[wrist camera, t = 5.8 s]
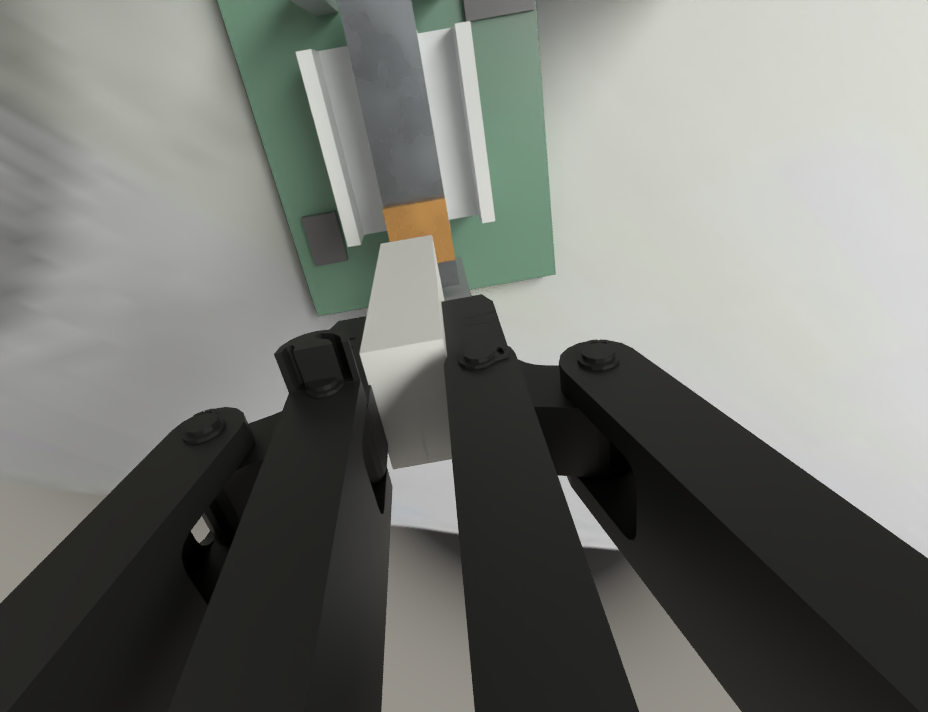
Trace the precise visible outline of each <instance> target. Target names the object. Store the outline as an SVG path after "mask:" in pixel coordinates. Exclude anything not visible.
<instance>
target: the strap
mask: <svg viewBox="0 0 928 712" xmlns="http://www.w3.org/2000/svg"><path fill="white" fill-rule="evenodd" d="M337 1H338V6H339V10H340V15H341V19H342V24H343V28H344V33H345V37H346V42H347V46H348V51H349V55H350V60H351V64H352V69H353V73H354V78H355V82H356V87H357V91H358V96H359V100H360V105H361V109H362V114H363V118H364V123H365V127H366V132H367V136H368V141H369V145H370V150H371V154H372V159H373V163H374V168H375V172H376V177H377V181H378V186H379V190H380V195H381V199H382V204H383V209H382V210H383V214H384V219H385V223H386V228H387V232H388V237H389V241H390V242H394V241H400V240H405V239H411V238H417V237H422V236H428V235H432V237H433V242H434V248H435V253H436V258H437V264H438V269H439V275H440V280H441V285H442V288H443V287H449V286H454V285H459V279H458V273H457V267H456V261H455V254H454V248H453V242H452V236H451V230H450V224H449V218H448V213H447V207H446V201H445V196H444V190H443V184H442V178H441V172H440V166H439V160H438V155H437V149H436V143H435V137H434V131H433V125H432V119H431V113H430V107H429V101H428V96H427V90H426V84H425V78H424V72H423V66H422V60H421V54H420V48H419V42H418V36H417V31H416V25H415V19H414V13H413V7H412V1H411V0H337Z"/></svg>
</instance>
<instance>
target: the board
mask: <svg viewBox="0 0 928 712" xmlns="http://www.w3.org/2000/svg"><path fill="white" fill-rule="evenodd" d="M217 1H218V4H219V7H220V10H221V14H222V17H223V20H224V23H225V26H226V29H227V32H228V35H229V39H230V42H231V45H232V48H233V51H234V54H235V57H236V61H237V64H238V67H239V70H240V73H241V76H242V79H243V83H244V86H245V89H246V92H247V95H248V98H249V101H250V105H251V108H252V111H253V114H254V117H255V120H256V123H257V127H258V130H259V133H260V136H261V139H262V142H263V145H264V149H265V152H266V155H267V158H268V161H269V164H270V167H271V171H272V174H273V177H274V180H275V183H276V186H277V189H278V193H279V196H280V199H281V202H282V205H283V208H284V211H285V215H286V218H287V221H288V224H289V227H290V230H291V233H292V237H293V240H294V243H295V246H296V249H297V252H298V255H299V259H300V262H301V265H302V268H303V271H304V274H305V277H306V281H307V284H308V287H309V290H310V293H311V296H312V299H313V303H314V306H315V309H316V312H317V315H318V316H322V315H328V314H333V313H339V312H345V311H350V310H356V309H362V308H367V307H369V302H370V296H371V291H372V286H373V281H374V276H375V271H376V265H377V260H378V255H379V250H380V245H381V244H382V243H388V242H390V241H389V237H388V232H387V228H386V223H385V219H384V214H383V210H382V209H383V204H382V199H381V195H380V190H379V186H378V181H377V177H376V172H375V168H374V163H373V159H372V154H371V150H370V145H369V141H368V136H367V132H366V127H365V123H364V118H363V114H362V109H361V105H360V100H359V96H358V91H357V87H356V82H355V78H354V73H353V69H352V64H351V60H350V55H349V51H348V46H347V42H346V37H345V33H344V28H343V24H342V19H341V15H340V10H339V6H338V1H337V0H217ZM411 1H412V7H413V13H414V19H415V25H416V31H417V36H418V42H419V48H420V54H421V60H422V66H423V72H424V78H425V84H426V90H427V96H428V101H429V107H430V113H431V119H432V125H433V131H434V137H435V143H436V149H437V155H438V160H439V166H440V172H441V178H442V184H443V190H444V196H445V201H446V207H447V213H448V218H449V224H450V230H451V236H452V242H453V248H454V254H455V261H456V267H457V273H458V279H459V285H454V286H449V287H443V288H442V291H443V296H444V301H447V300H453V299H458V298H464V297H470V296H472V295H471V293H470V289H475V288H481V287H487V286H492V285H498V284H504V283H509V282H515V281H521V280H526V279H532V278H538V277H543V276H549V275H555V274H556V272H555V258H554V244H553V231H552V217H551V203H550V190H549V176H548V162H547V149H546V135H545V121H544V108H543V94H542V80H541V66H540V53H539V39H538V25H537V12H536V0H411Z"/></svg>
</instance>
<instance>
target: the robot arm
mask: <svg viewBox="0 0 928 712" xmlns="http://www.w3.org/2000/svg"><path fill="white" fill-rule="evenodd" d="M274 355H275V358H276V360H277V363H278V366H279V368H280V371H281V373H282V376H283V379H284V381H285V384H286V386H287V389H288V392H289V395H288V397H287V400H286V403H285V405H284V408H283V410H282V411H281V412H279V413H276V414H274V415H272V416H269V417H266V418H263V419H260V420H258V421H255V422H252V423H249V424H248V422H247V420H246V418H245V416H244V413H243V412H241V411H240V410H238V409H237V408H229V407H223V408H217V409H209V410H205V412H203V411H202V412H200V413H197V414H195V415H194V416H193V417H191V418H189V419H188V420H186V421H184V422H182V423H181V424H180V425H178V426H177V427H176V428H175V429H173V430H172V431H171V432H170V433H169V434H168V435H167V436H166V437H165V438H164V439H163V440H162V441H161V442H160V443H159V444H158V445H157V446H156V447H155V448H154V449H153V450H152V451H151V452H150V453H149V454H148V455H147V456H146V457H145V458H144V459H143V460H142V461H141V462H140V463H139V464H138V465H137V466H136V467H135V468H134V469H133V470H132V471H131V472H130V473H129V474H128V475H127V476H126V477H125V478H124V479H123V480H122V481H121V482H120V483H119V484H118V485H117V487H116V488H115V489H114V490H113V491H112V492H111V493H110V494H109V495H108V496H107V497H106V498H105V499H104V500H103V501H102V502H101V503H100V504H99V505H98V506H97V507H96V508H95V509H94V510H93V511H92V512H91V513H90V514H89V515H88V516H87V517H86V518H85V519H84V520H83V521H82V522H81V523H80V524H79V525H78V526H77V527H76V528H75V529H74V530H73V531H72V532H71V533H70V534H69V535H68V536H67V537H66V538H65V539H64V540H63V541H62V542H61V543H60V544H59V545H58V546H57V547H56V548H55V549H54V550H53V551H52V552H51V553H50V554H49V555H48V556H47V557H46V558H45V559H44V560H43V561H42V562H41V563H40V564H39V565H38V566H37V567H36V568H35V569H34V570H33V571H32V572H31V573H30V574H29V575H28V576H27V577H26V578H25V579H24V580H23V581H22V582H21V583H20V584H19V585H18V586H17V587H16V588H15V589H14V590H13V591H12V592H11V593H10V594H9V595H8V597H6V598H5V599H4V600H3V602H2V603H0V712H381V705H382V685H383V665H384V664H383V663H384V644H385V643H384V642H385V625H386V604H387V585H388V565H389V545H390V525H391V505H392V484H391V479H390V476H389V473H388V469H387V455H388V453H389V457H390V460H391V464H392V467H393V469H397V468H403V467H409V466H414V465H420V464H426V463H432V462H437V461H443V460H449V459H452V463H453V475H454V486H455V497H456V508H457V519H458V530H459V541H460V551H461V562H462V574H463V585H464V596H465V606H466V618H467V629H468V640H469V651H470V661H471V672H472V684H473V695H474V706H475V712H639V710H638V708H637V705H636V702H635V699H634V696H633V693H632V690H631V687H630V684H629V681H628V678H627V676H626V673H625V670H624V667H623V664H622V661H621V658H620V655H619V652H618V649H617V647H616V644H615V641H614V638H613V635H612V632H611V629H610V626H609V623H608V620H607V617H606V615H605V612H604V609H603V606H602V603H601V600H600V598H599V595H598V592H597V589H596V586H595V583H594V580H593V577H592V574H591V571H590V568H589V566H588V562H587V560H586V557H585V554H584V551H583V548H582V545H581V542H580V539H579V536H578V533H577V531H576V528H575V525H574V522H573V519H572V516H571V513H570V510H569V507H568V505H567V502H566V499H565V496H564V493H563V490H562V487H561V484H560V481H559V478H558V476H557V475H562V476H567V478H568V480H569V482H570V485H571V487H572V488H573V489H574V491H575V492H576V493H577V495H578V496H579V497H580V499H581V500H582V501H583V503H584V504H585V505H586V507H587V508H588V509H589V511H590V512H591V513H592V515H593V516H594V517H595V519H596V520H597V521H598V523H599V524H600V525H601V526H602V528H603V529H604V530H605V532H606V533H607V534H608V536H609V537H610V538H611V540H612V541H613V542H614V544H615V545H616V546H617V548H618V549H619V550H620V552H621V553H622V554H623V555H624V557H625V558H626V559H627V561H628V562H629V563H630V565H631V566H632V567H633V569H634V570H635V571H636V573H637V574H638V575H639V577H640V578H641V579H642V581H643V582H644V583H645V584H646V586H647V587H648V589H649V590H650V591H651V593H652V594H653V595H654V596H655V598H656V599H657V600H658V602H659V603H660V604H661V606H662V607H663V608H664V610H665V611H666V612H667V614H668V615H669V616H670V617H671V619H672V620H673V622H674V623H675V624H676V625H677V627H678V628H679V629H680V631H681V632H682V633H683V635H684V636H685V637H686V639H687V640H688V641H689V643H690V644H691V645H692V646H693V648H694V649H695V651H696V652H697V653H698V655H699V656H700V657H701V659H702V660H703V661H704V663H705V664H706V665H707V666H708V668H709V669H710V670H711V672H712V673H713V674H714V675H715V677H716V678H717V680H718V681H719V682H720V684H721V685H722V686H723V688H724V689H725V690H726V692H727V693H728V694H729V696H730V697H731V698H732V699H733V701H734V702H735V703H736V705H737V706H738V707H739V709H740V710H741V711H742V712H928V558H927V557H925V556H924V555H922V554H921V553H920V552H918V551H917V550H915V549H914V548H912V547H911V546H910V545H908V544H907V543H905V542H904V541H903V540H901V539H900V538H898V537H897V536H896V535H894V534H893V533H891V532H890V531H889V530H887V529H886V528H884V527H883V526H882V525H880V524H879V523H877V522H876V521H875V520H873V519H872V518H870V517H869V516H867V515H866V514H865V513H863V512H862V511H860V510H859V509H858V508H856V507H855V506H853V505H852V504H851V503H849V502H848V501H846V500H845V499H844V498H842V497H841V496H839V495H838V494H837V493H835V492H834V491H832V490H831V489H830V488H828V487H827V486H825V485H824V484H823V483H821V482H820V481H818V480H817V479H815V478H814V477H813V476H811V475H810V474H808V473H807V472H806V471H804V470H803V469H801V468H800V467H799V466H797V465H796V464H794V463H793V462H792V461H790V460H789V459H787V458H786V457H785V456H783V455H782V454H780V453H779V452H778V451H776V450H775V449H773V448H772V447H770V446H769V445H768V444H766V443H765V442H763V441H762V440H761V439H759V438H758V437H756V436H755V435H754V434H752V433H751V432H749V431H748V430H747V429H745V428H744V427H742V426H741V425H740V424H738V423H737V422H735V421H734V420H733V419H731V418H730V417H728V416H727V415H726V414H724V413H723V412H721V411H720V410H718V409H717V408H716V407H714V406H713V405H711V404H710V403H709V402H707V401H706V400H704V399H703V398H702V397H700V396H699V395H697V394H696V393H695V392H693V391H692V390H690V389H689V388H688V387H686V386H685V385H683V384H682V383H681V382H679V381H678V380H676V379H675V378H674V377H672V376H671V375H669V374H668V373H666V372H665V371H664V370H662V369H661V368H659V367H658V366H657V365H655V364H654V363H652V362H651V361H650V360H648V359H647V358H645V357H644V356H643V355H641V354H640V353H638V352H637V351H636V350H634V349H633V348H631V347H629V346H627V345H625V344H622V343H619V342H614V341H609V340H590V341H587V342H582V343H578V344H576V345H574V346H571V347H569V348H567V349H566V350H565V351H564V352H563V353H562V354H561V356H560V360H559V366H545V365H534V364H529V363H525V362H523V361H520V360H518V359H517V357H516V354H515V352H514V351H513V350H512V348H511V347H509V346H507V343H506V340H505V337H504V334H503V331H502V328H501V325H500V322H499V319H498V316H497V313H496V310H495V307H494V304H493V301H491V300H490V299H488V298H486V297H485V296H483V295H482V294H481V295H476V296H470V297H464V298H458V299H453V300H447V301H444V296H443V291H442V285H441V280H440V275H439V269H438V264H437V258H436V253H435V248H434V242H433V237H432V235H428V236H422V237H417V238H411V239H405V240H400V241H394V242H388V243H382V244H381V245H380V250H379V255H378V260H377V265H376V271H375V276H374V281H373V286H372V291H371V296H370V302H369V307H368V312H367V316H365V317H359V318H354V319H348V320H342V321H338V322H337V323H336V324H335V325H334V326H333V327H332V328H331V329H330V330H322V331H315V332H311V333H307V334H303V335H301V336H299V337H296V338H294V339H292V340H290V341H288V342H287V343H285V344H284V345H282V346H281V347H280V348H279V349H278V350H277V351H276V352H275V354H274ZM201 516H202V517H203V519H204V520H205V522H206V524H207V526H208V527H209V529H210V532H209V533H208V535H207V536H206V538H205V539H204V540H203V541H202V542H200V543H198V542H197V541H196V539H195V538H194V536H193V534H192V533H191V529H192V528H193V527H194V525H195V524H196V523H197V521H198V520H199V519H200V517H201Z"/></svg>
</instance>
